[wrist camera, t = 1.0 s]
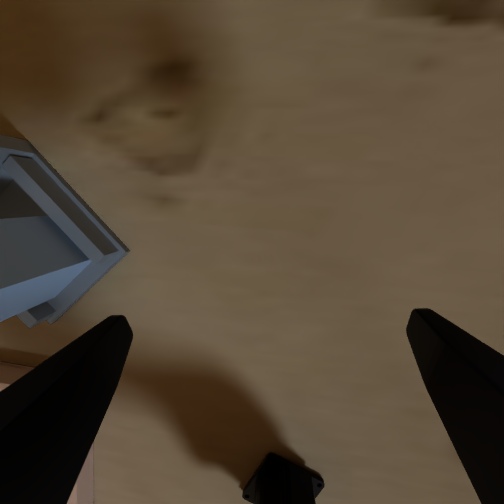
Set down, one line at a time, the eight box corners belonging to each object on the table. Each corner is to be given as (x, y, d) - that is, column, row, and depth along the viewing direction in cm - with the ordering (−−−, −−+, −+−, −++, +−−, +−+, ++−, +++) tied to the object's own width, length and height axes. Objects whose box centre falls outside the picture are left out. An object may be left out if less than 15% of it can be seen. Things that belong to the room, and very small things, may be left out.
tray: (92, 378, 26) (74, 396, 24) (93, 509, 30) (77, 536, 28) (-68, 349, 27) (-101, 364, 25) (-47, 480, 31) (-74, 504, 29)
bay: (130, 250, 23) (74, 270, 17) (55, 321, 25) (-20, 363, 19) (28, 140, 22) (-75, 116, 15) (-42, 225, 24) (-157, 235, 18)
